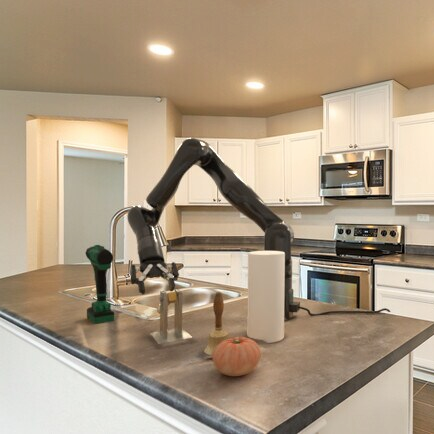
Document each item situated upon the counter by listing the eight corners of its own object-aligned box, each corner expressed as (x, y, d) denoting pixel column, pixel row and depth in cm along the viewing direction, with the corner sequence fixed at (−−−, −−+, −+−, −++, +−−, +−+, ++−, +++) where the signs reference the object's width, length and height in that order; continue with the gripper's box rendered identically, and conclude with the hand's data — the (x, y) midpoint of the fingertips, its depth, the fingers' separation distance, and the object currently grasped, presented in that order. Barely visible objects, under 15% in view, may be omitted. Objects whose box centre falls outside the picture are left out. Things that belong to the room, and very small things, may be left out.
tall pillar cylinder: (282, 330, 118) (283, 250, 118) (285, 342, 108) (286, 254, 108) (247, 332, 117) (248, 250, 116) (246, 344, 106) (247, 254, 106)
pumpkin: (213, 365, 91) (214, 332, 91) (259, 361, 94) (259, 329, 94) (210, 385, 81) (211, 347, 81) (262, 380, 83) (262, 344, 83)
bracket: (149, 337, 111) (150, 289, 111) (181, 331, 116) (181, 286, 116) (158, 348, 102) (159, 297, 102) (192, 341, 108) (193, 293, 107)
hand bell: (235, 358, 96) (236, 295, 96) (201, 361, 94) (201, 296, 93) (233, 347, 104) (234, 288, 104) (201, 349, 101) (202, 290, 101)
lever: (156, 316, 117) (155, 306, 118) (167, 314, 118) (166, 304, 120) (167, 302, 107) (165, 291, 108) (178, 300, 108) (177, 290, 110)
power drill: (94, 327, 119) (94, 247, 119) (78, 309, 141) (78, 241, 140) (114, 324, 123) (115, 247, 122) (96, 307, 144) (96, 241, 144)
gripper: (128, 245, 124) (135, 287, 115) (174, 244, 132) (183, 282, 123) (125, 260, 128) (131, 301, 119) (170, 257, 137) (178, 295, 128)
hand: (158, 291), depth 121 cm, fingers open, 8 cm apart
